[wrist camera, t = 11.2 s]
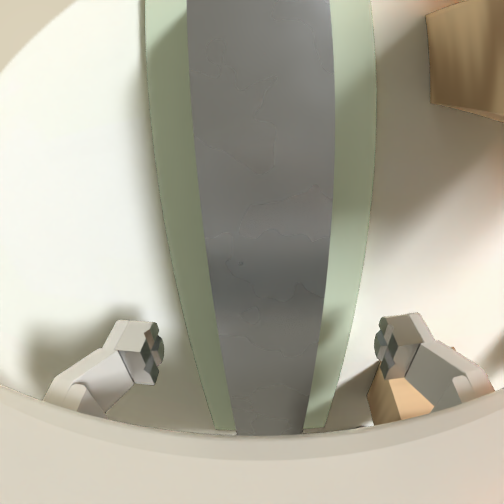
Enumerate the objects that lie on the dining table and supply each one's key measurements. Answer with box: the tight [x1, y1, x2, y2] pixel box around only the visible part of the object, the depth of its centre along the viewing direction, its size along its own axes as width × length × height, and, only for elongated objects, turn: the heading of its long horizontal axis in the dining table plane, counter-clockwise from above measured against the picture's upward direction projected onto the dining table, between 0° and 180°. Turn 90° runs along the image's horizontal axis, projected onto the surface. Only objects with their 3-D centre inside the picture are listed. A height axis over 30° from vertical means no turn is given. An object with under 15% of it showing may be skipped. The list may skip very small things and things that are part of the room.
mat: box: [145, 0, 377, 430], centre depth 13 cm, size 26×8×1 cm, turn 3°
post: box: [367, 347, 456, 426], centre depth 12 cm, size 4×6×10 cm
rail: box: [187, 0, 335, 436], centre depth 11 cm, size 24×3×4 cm, turn 3°
